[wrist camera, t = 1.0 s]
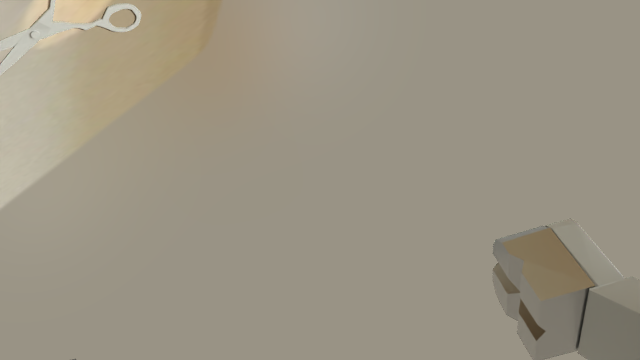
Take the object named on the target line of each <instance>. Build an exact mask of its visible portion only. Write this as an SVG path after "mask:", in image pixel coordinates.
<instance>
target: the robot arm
mask: <svg viewBox="0 0 640 360" xmlns="http://www.w3.org/2000/svg"><path fill="white" fill-rule="evenodd" d="M493 254H494V256H495V258H496V259H497V261H498V263H497V264H496V266H495V267H494V268H493V283H494V287H495V292H496V295H497V297H498V299H499V302H500V304H501V306H502V308H503V310H504V311H505V313H506V315H508V316H510V317H512V318H513V319H515V320H517V321H518V331H517V334H518V335H519V337H520V339H521V340H522V342H523V344H524V345H525V347H526V349H527V350H528V352H529V354H530V356H531V357H532V359H533V360H544V359H547V358H551V357H555V356H559V355H563V354H567V353H570V352H574V351H578V354H580V355H581V356H583V357H584V358H586V359H588V360H640V280H639V279H637V278H634V277H629V278H624V277H623V276H622V274H621V273H620V272H619V271H618V270H617V269H616V267H615V266H614V265H613V264H612V263H611V262H610V261H609V260H608V258H607V257H606V256H605V255H604V253H603V252H602V251H601V250H600V249H599V248H598V246H597V245H596V244H595V243H594V242H593V241H592V239H591V238H590V237H589V236H588V235H587V234H586V232H585V231H584V230H583V229H582V228H581V226H579V224H578V223H577V222H576V221H574V220H572V219H567V220H563V221H560V222H556V223H553V224H549V225H546V226H541V227H537V228H534V229H531V230H527V231H524V232H520V233H517V234H513V235H510V236H507V237H504V238H500V239H496V240H495V242H494V244H493ZM72 360H76V359H72Z"/></svg>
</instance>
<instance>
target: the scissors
mask: <svg viewBox="0 0 640 360" xmlns="http://www.w3.org/2000/svg"><path fill="white" fill-rule="evenodd" d="M54 8H55V0H51V1H50V7H49V8H48V9H47V10H46V11H45V12H44V13H43V14H42V15H41V16H40V17H39V19H38V20H37V21H36V22H35V23H34V24H33V25H32V26H31V27H30V28H29V29H27V30H24V31H22V32H20V33H17V34H15V35H12V36H10V37H8V38H5V39H3V40H0V51H2V50H6V49H9V48H12V47H14V46H15V47H14V48H13V49H12V50H11V52H10V53H9V54H8V55H7V57H6V58H5V59H4V60H3V62H2V63H1V64H0V75H1V74H3V73H4V72H5V71H6V70H7V69H8V68H10V67H11V66H12V65H13V64H14V63H15V62H16V61H18V60H19V59H20V58H21V57H22V56H23V55H24V54H25V53H26V52H27V51H28V50H29V49H30V48H31V47H33V46H34V45H35V44H36V43H37V42H38V41H39V40H40V39H44V38H47V37H49V36H52V35H54V34H57V33H59V32H62V31H66V30H69V29H71V28H81V29H84V30H88V29H90V28H92V27H94V26H96V25H97V26H101V27H104V28H107V29H109V30H111V31H115V32H126V31H130V30H132V29H133V28H135V27H136V26H137V25H138V24H139V22H140V20H141V13H140V11H139V9H138V8H137V7H135V6H134V5H131V4H128V3H121V4H114V5H111V6H108V7H107V9H106V11H105V13H104V16H103V18H102V19H97V20H95V21H93V22H91V23H69V22H64V21H53V15H54ZM121 9H131V10H132V11H133V12H134V13H135V14H136V20H135V22H134V23H133V24H131V25H130V26H128V27H126V28H122V27H115V26H113V25H112V24H111V23H110V22H109V18H110V16H111V14H112V13H114V12H116V11H118V10H121Z"/></svg>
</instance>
